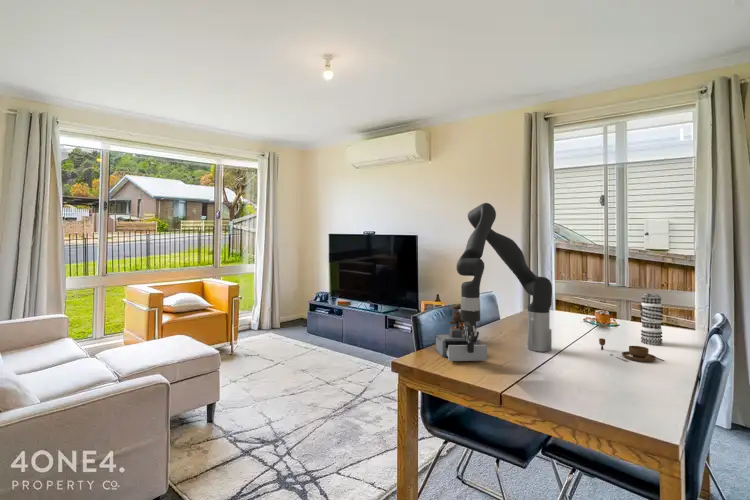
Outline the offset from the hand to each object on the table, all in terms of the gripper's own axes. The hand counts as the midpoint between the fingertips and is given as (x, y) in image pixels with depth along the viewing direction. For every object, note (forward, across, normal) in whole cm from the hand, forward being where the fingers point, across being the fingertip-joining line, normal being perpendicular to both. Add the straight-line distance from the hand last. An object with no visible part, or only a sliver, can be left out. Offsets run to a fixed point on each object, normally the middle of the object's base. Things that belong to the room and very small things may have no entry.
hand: (470, 352), depth 152 cm
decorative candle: (+5, -26, +98) cm, 101 cm away
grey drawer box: (+5, -18, 0) cm, 19 cm away
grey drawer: (+5, -10, 0) cm, 11 cm away
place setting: (+6, -10, +75) cm, 76 cm away
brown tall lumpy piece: (+5, -38, +8) cm, 40 cm away
